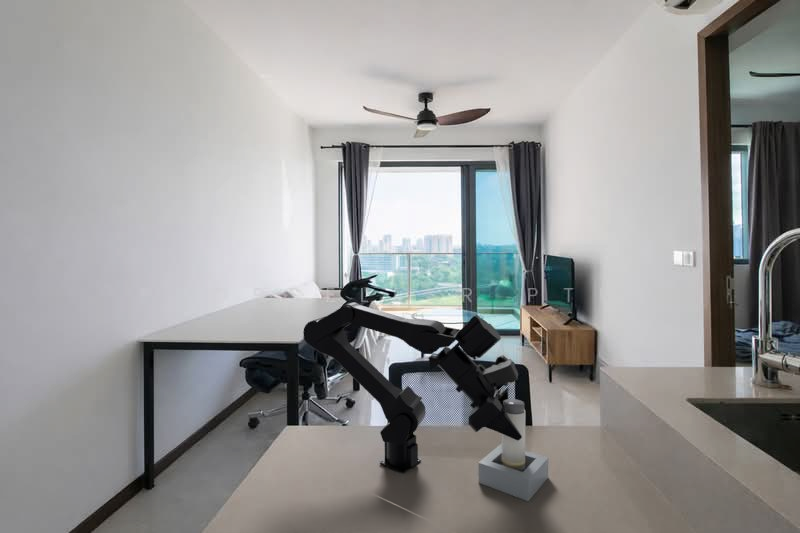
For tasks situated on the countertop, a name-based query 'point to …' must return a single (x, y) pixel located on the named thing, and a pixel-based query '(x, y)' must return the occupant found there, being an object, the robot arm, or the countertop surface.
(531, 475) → the socket block
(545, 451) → the countertop surface
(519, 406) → the white plastic bottle
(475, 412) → the robot arm
